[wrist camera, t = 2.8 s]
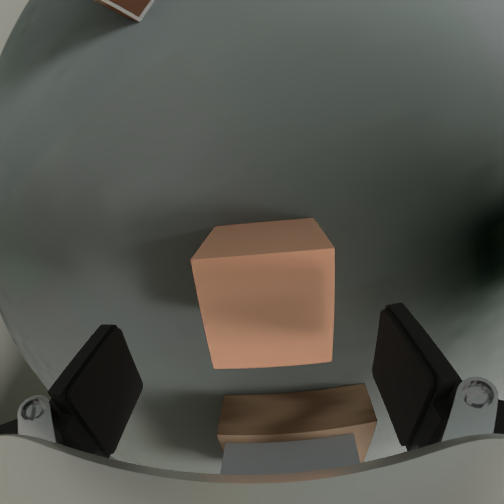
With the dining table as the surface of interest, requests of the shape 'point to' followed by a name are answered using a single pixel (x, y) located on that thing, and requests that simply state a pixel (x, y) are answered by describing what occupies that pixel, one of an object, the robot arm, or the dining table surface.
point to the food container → (128, 7)
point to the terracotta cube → (267, 293)
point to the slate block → (289, 456)
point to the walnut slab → (299, 417)
